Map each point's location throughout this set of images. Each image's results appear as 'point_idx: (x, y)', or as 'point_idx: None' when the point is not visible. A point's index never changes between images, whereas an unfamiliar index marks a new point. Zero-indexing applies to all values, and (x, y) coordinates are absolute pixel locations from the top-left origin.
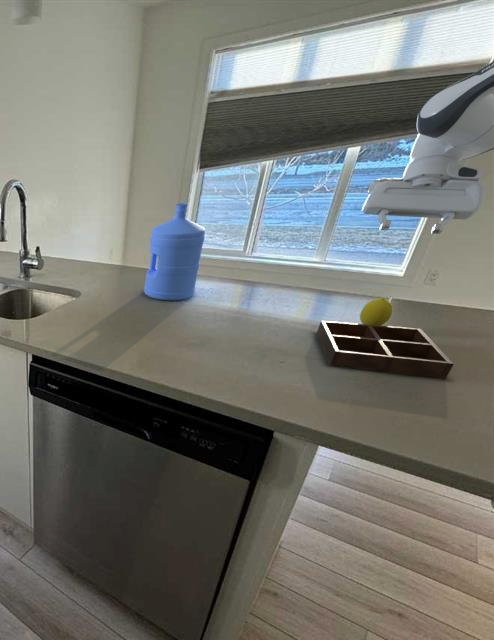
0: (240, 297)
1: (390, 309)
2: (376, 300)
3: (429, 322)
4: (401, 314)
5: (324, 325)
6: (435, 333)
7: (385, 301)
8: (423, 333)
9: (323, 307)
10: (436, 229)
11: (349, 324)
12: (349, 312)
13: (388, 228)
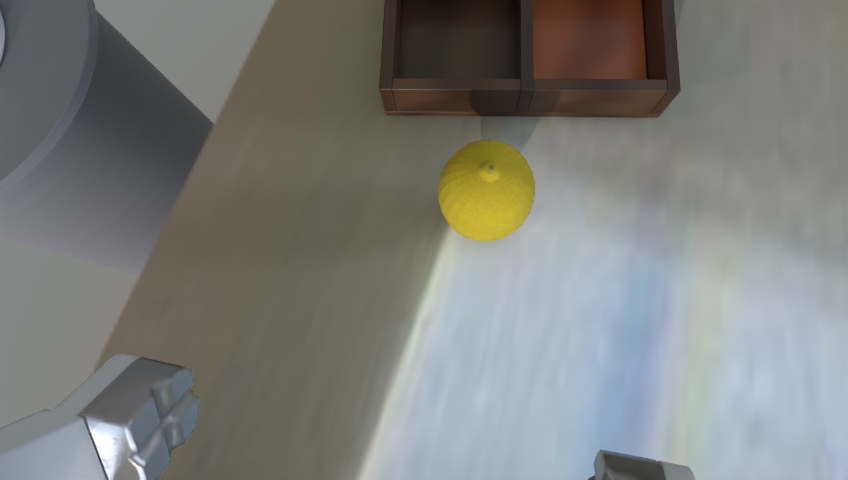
0: None
1: (454, 154)
2: (509, 164)
3: (269, 328)
4: (328, 408)
5: (673, 43)
6: (295, 214)
7: (478, 156)
8: (387, 45)
9: (604, 445)
10: (164, 366)
11: (588, 79)
12: (511, 392)
13: (595, 459)
